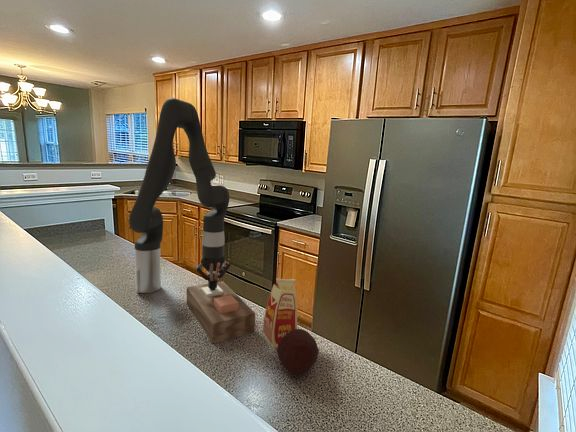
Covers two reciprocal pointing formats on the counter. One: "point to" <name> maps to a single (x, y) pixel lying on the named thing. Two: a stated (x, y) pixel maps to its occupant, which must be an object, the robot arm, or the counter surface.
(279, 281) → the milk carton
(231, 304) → the salmon pink block
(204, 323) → the block
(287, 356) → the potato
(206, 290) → the cream square block
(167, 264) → the counter surface
